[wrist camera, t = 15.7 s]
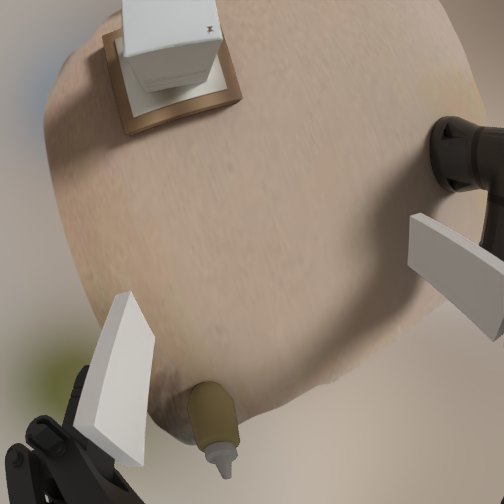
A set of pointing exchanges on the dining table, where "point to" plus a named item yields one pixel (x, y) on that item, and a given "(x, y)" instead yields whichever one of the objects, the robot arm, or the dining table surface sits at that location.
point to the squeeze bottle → (214, 425)
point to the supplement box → (170, 41)
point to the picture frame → (167, 90)
